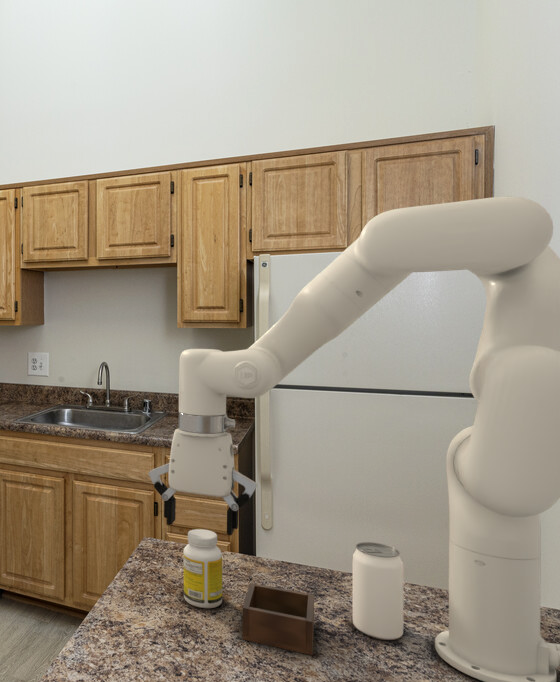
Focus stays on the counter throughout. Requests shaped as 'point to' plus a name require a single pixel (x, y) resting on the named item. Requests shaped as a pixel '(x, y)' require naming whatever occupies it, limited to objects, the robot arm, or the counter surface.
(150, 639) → the counter surface
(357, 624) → the can
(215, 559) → the pill bottle
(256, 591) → the box
